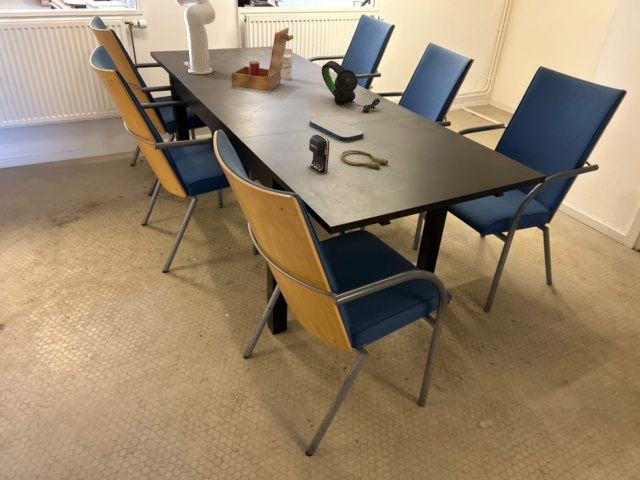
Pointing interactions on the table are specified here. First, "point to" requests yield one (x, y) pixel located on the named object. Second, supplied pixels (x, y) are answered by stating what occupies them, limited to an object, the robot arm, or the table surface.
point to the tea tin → (254, 68)
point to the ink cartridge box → (287, 64)
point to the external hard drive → (336, 128)
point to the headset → (343, 85)
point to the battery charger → (319, 153)
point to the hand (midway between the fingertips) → (244, 5)
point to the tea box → (255, 79)
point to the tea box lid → (278, 51)
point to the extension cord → (370, 164)
